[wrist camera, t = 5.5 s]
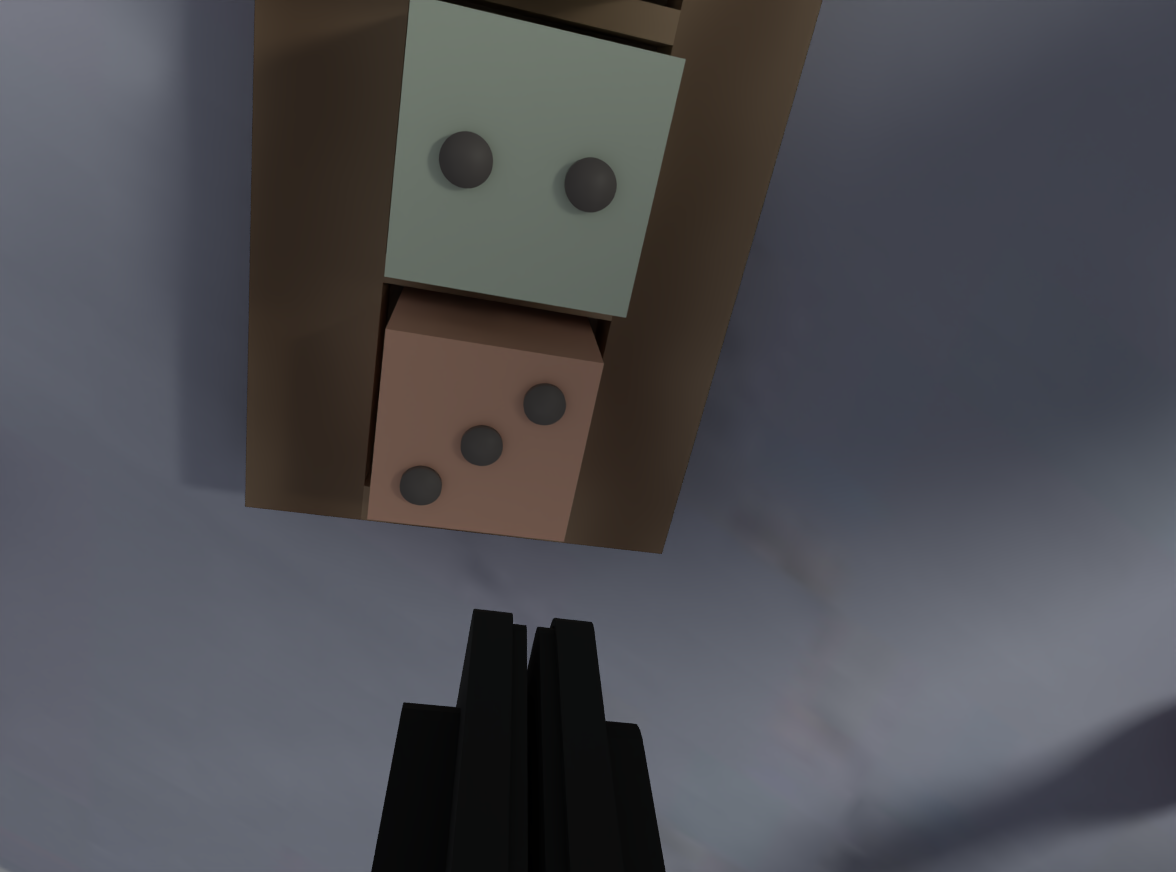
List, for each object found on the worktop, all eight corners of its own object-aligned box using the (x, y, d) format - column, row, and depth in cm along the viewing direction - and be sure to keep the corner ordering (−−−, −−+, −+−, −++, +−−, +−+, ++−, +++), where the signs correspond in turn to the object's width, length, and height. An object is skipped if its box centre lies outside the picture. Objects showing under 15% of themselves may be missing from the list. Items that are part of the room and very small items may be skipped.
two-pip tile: (647, 60, 18) (688, 58, 14) (602, 272, 20) (627, 320, 16) (429, 9, 17) (409, -8, 13) (406, 236, 19) (383, 278, 15)
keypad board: (875, -305, 16) (925, -356, 15) (648, 515, 25) (662, 553, 23) (297, -504, 14) (266, -594, 12) (267, 468, 23) (245, 506, 21)
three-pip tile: (586, 313, 21) (604, 366, 18) (554, 469, 23) (564, 546, 20) (405, 282, 20) (384, 331, 17) (388, 447, 22) (365, 523, 19)
